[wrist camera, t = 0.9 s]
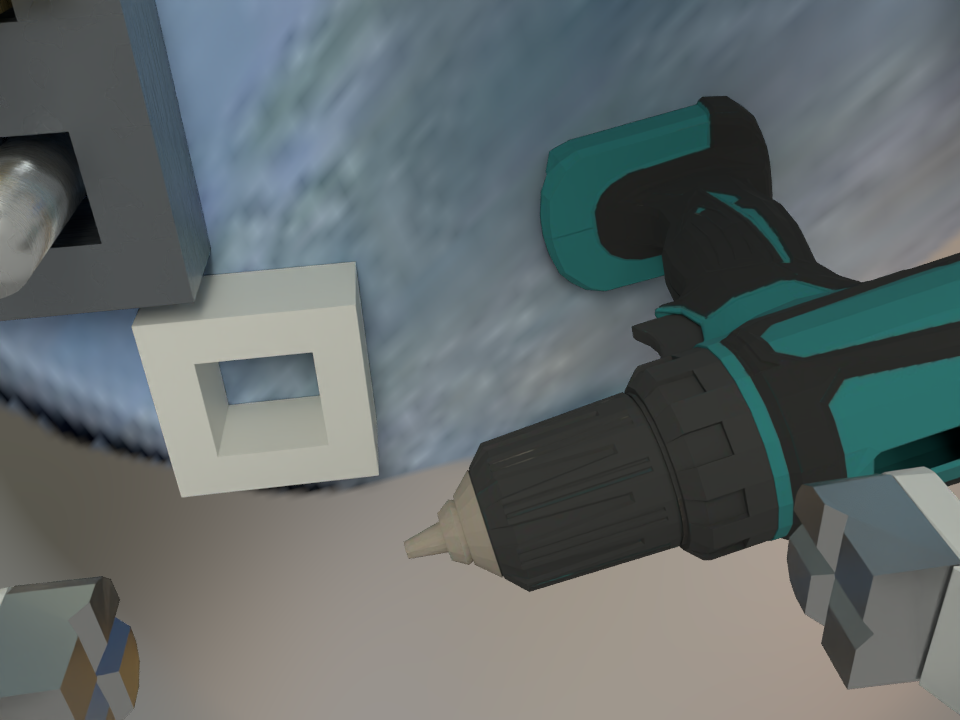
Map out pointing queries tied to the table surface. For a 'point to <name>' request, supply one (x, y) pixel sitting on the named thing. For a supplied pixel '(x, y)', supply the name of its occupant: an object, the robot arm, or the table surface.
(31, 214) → the metal cylinder
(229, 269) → the table surface
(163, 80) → the socket block
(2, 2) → the wooden tenon block
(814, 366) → the power drill
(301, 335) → the cream square open frame
